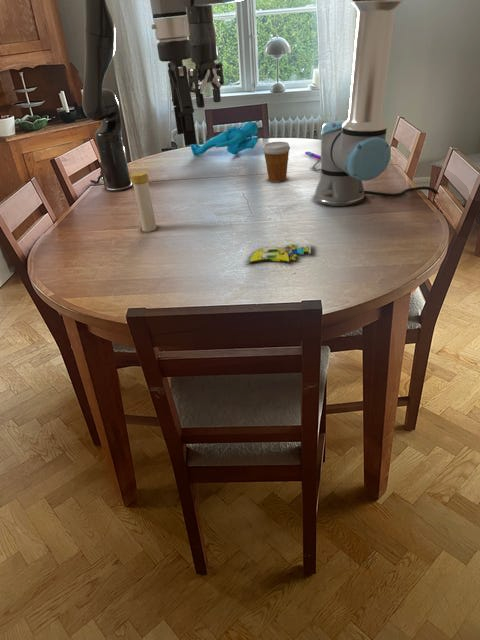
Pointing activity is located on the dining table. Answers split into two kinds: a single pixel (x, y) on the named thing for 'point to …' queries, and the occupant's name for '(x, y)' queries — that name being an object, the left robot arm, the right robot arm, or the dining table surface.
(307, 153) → the checkered curved strip
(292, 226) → the dining table surface
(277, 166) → the disposable coffee cup
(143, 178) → the lid
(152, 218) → the white bottle
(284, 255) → the toy
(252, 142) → the toy
